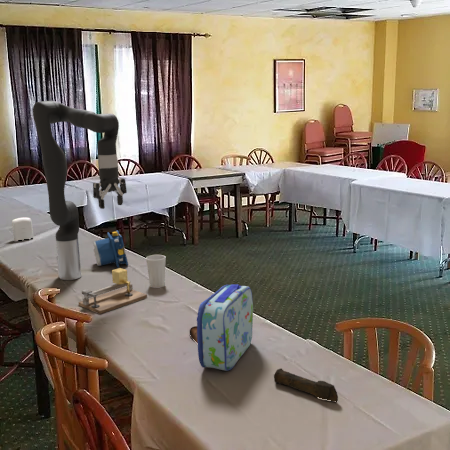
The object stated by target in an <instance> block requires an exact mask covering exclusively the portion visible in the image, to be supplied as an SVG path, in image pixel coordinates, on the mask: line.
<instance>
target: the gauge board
mask: <svg viewBox="0 0 450 450" xmlns="http://www.w3.org/2000/svg"><path fill="white" fill-rule="evenodd" d="M128 282H130V285H129V289H130V294H128V290H127V284H121V285H118V284H116V283H114V284H112V285H108V286H106V287H103V288H100V289H96V290H93V291H92V290H90V289H88V288H87V289H84V290H81V295H83V298H82V300H81V301H78V306H80V307H82V308H84V309H87V310H89V311H92V312H94V313H97V314H98V315H102V314H105V313H108V312H110V311H113V310H117V309H118V308H121V307H125V306H127V305H130V304H133V303H136V302H139V301H142V300H145V299H147V298H148V294H147V293H143V292H141V291H137V290H135V289H133V288H134V287H133V284H132V283H131V280H129V279H128Z"/></svg>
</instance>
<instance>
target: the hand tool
mask: <svg viewBox="0 0 450 450" xmlns="http://www.w3.org/2000/svg"><path fill="white" fill-rule="evenodd" d="M273 379H274V383H275V384H279V385H280V384H281V385H285V386H288V387H290V388H293V389H296V390H299V391H301V392H305V393H308V394H311V395H312V396H314V397H315V398H316V397H319V398H322V399H327V400H331V401H336V402H335V403H338V402H339V401H338V400H339V396H338V392H337V389H336V387H335V385H334V384H331V383H329V382H327V381H325V380H318V381H315V380H313V379H312V380H311V379H309V378H306V377H303V376H300V375H296V374H295V373H291V372H289V371H286V370H284V369H283V368H278V369H276V370H275V372H274V374H273ZM337 401H338V402H337Z"/></svg>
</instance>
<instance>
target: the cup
mask: <svg viewBox="0 0 450 450" xmlns="http://www.w3.org/2000/svg"><path fill="white" fill-rule="evenodd" d="M166 257H167V256H165V255H162V254H152V255H147V256H146V258H145V260H146V267H147V268H146V269H147V274H148V275H147V276H148V281H149V287H150V288H154V289H158V288H163V287H165V286H166V261H167V260H166Z"/></svg>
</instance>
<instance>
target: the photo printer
mask: <svg viewBox="0 0 450 450" xmlns="http://www.w3.org/2000/svg"><path fill="white" fill-rule="evenodd" d="M32 222H33V221H32V219H31V217H23V216H22V217H18V218H15V219H12V221H11V226H12V228H11V229H12V234H13V235H12V236H13V241H14V240H15V241H14V242H19V241H18V240H22V241H25V240H24V239H29V238H33V239H34V232H33V231H34V230H33V223H32ZM29 240H30V239H29Z"/></svg>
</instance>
